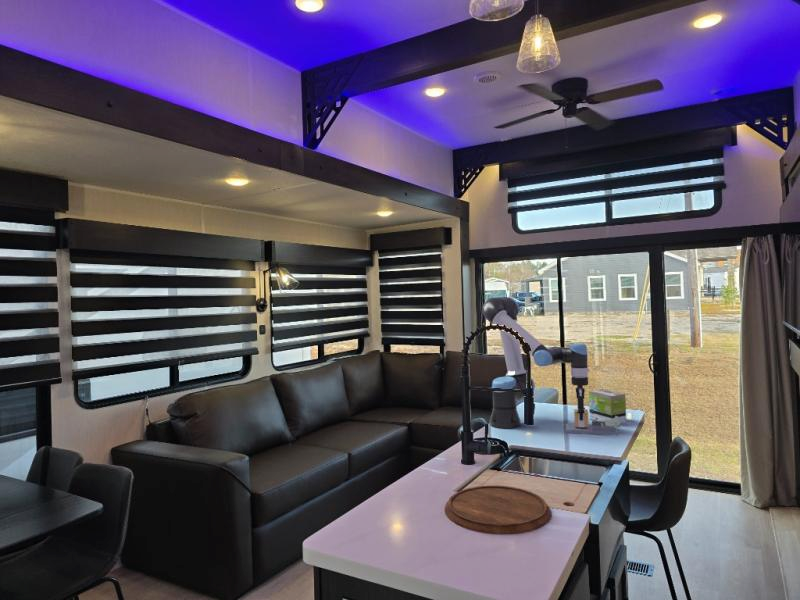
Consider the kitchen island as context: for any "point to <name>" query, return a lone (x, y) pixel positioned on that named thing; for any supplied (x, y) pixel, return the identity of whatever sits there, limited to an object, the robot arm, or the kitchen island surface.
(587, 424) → the jaw block
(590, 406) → the tea box
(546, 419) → the kitchen island surface
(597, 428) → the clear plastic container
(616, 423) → the cover
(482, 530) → the cutting board
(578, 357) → the robot arm
